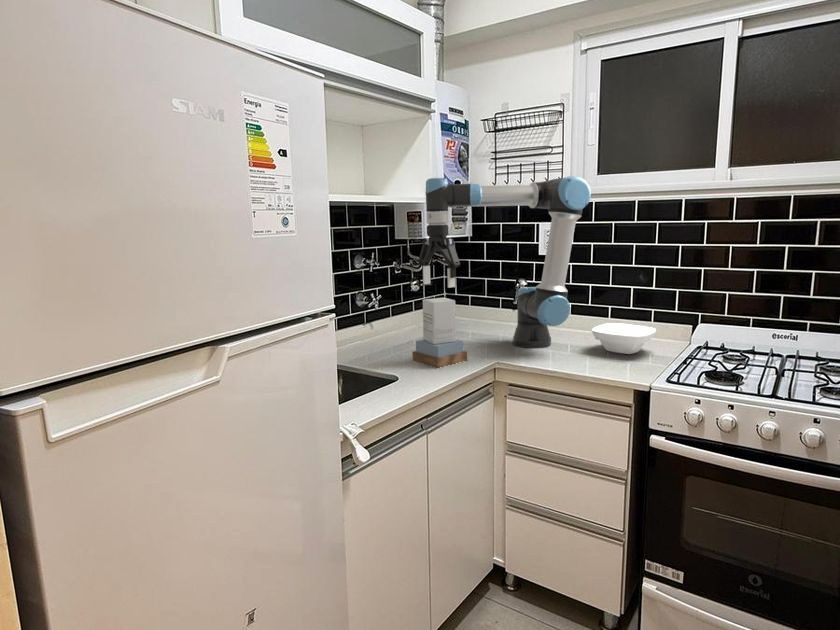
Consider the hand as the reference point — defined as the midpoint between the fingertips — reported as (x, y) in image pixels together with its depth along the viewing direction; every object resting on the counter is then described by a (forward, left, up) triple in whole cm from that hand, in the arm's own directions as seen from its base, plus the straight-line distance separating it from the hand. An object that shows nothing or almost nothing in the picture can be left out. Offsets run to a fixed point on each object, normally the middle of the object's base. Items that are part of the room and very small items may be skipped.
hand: (438, 285), depth 188 cm
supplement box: (0, 0, -20) cm, 20 cm away
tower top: (0, 0, -24) cm, 24 cm away
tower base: (0, 0, -28) cm, 28 cm away
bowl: (-59, +36, -28) cm, 74 cm away
